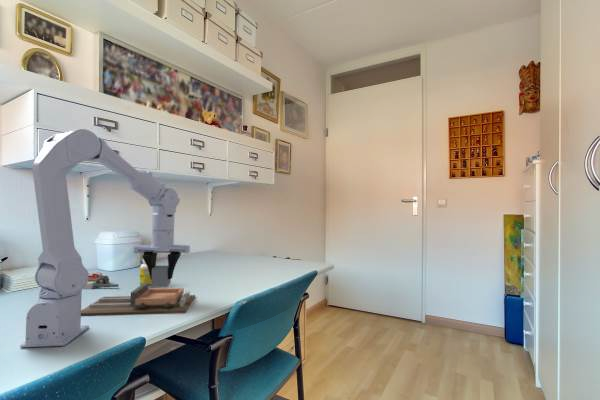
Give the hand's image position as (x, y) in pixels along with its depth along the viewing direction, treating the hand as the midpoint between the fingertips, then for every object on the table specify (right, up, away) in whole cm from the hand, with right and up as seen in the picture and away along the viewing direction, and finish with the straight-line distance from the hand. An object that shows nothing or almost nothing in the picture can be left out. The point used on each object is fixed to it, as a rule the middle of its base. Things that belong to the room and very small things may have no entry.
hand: (161, 278), depth 86 cm
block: (0, -2, 0) cm, 2 cm away
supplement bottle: (-13, -8, +19) cm, 25 cm away
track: (-5, -7, -1) cm, 9 cm away
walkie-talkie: (-31, -8, +18) cm, 37 cm away
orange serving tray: (0, -7, 0) cm, 7 cm away
